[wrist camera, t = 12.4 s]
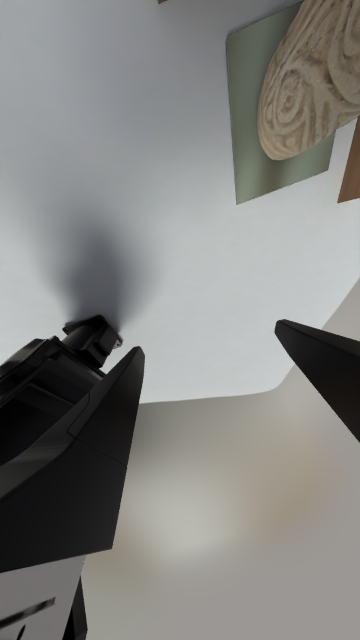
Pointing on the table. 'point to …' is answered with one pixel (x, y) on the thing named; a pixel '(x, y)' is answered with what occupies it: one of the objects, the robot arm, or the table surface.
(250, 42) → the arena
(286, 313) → the table surface
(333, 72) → the carving
